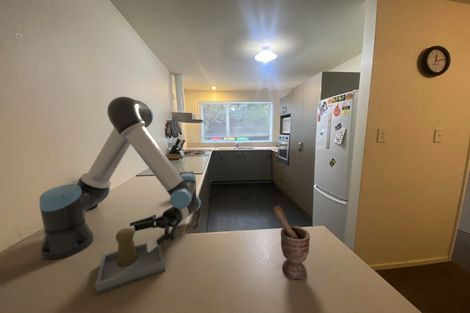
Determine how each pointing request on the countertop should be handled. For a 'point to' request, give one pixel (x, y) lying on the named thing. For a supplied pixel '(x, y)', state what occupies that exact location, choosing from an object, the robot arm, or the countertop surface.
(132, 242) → the cork
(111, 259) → the tray
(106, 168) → the robot arm
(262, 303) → the countertop surface
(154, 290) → the countertop surface
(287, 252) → the mortar and pestle
